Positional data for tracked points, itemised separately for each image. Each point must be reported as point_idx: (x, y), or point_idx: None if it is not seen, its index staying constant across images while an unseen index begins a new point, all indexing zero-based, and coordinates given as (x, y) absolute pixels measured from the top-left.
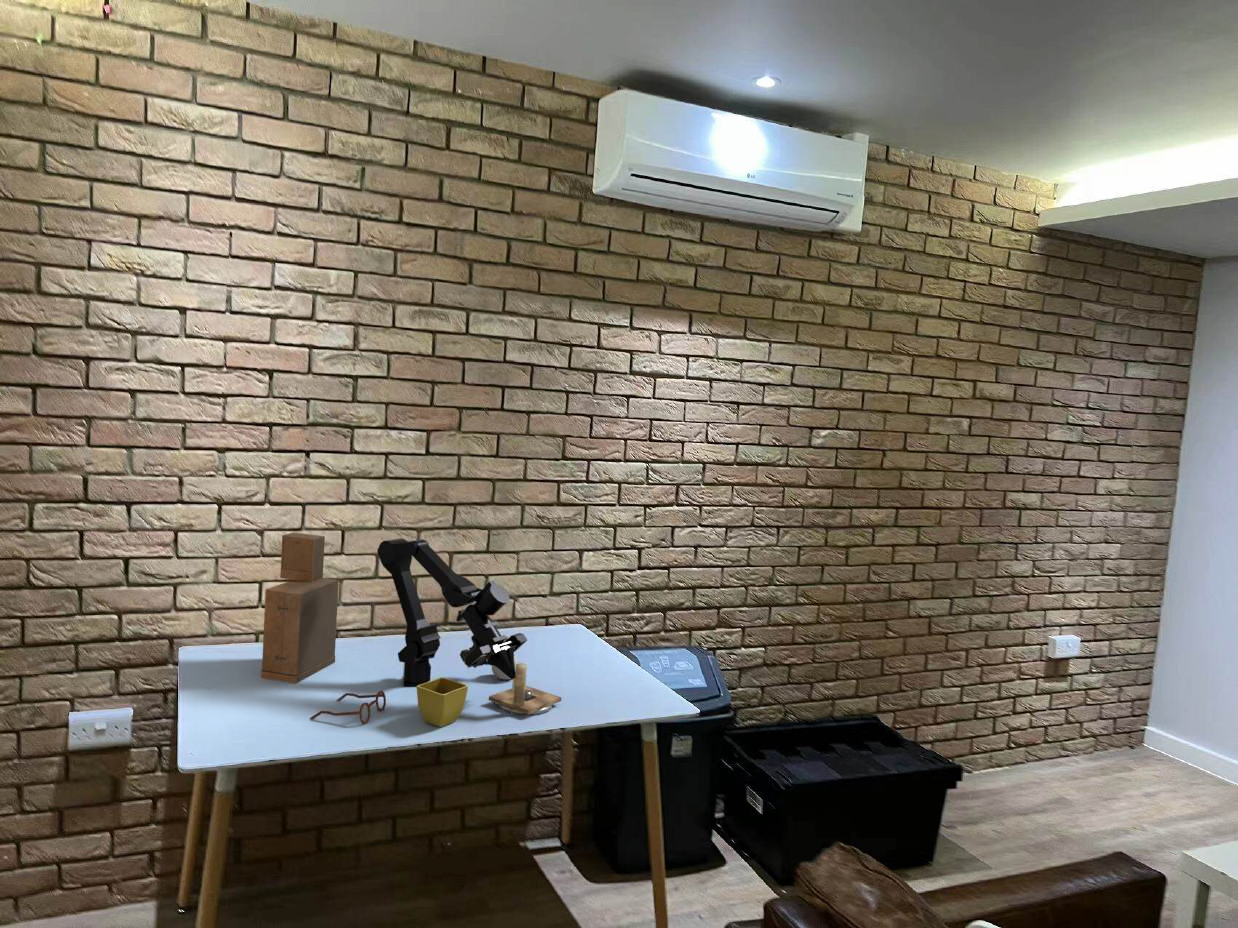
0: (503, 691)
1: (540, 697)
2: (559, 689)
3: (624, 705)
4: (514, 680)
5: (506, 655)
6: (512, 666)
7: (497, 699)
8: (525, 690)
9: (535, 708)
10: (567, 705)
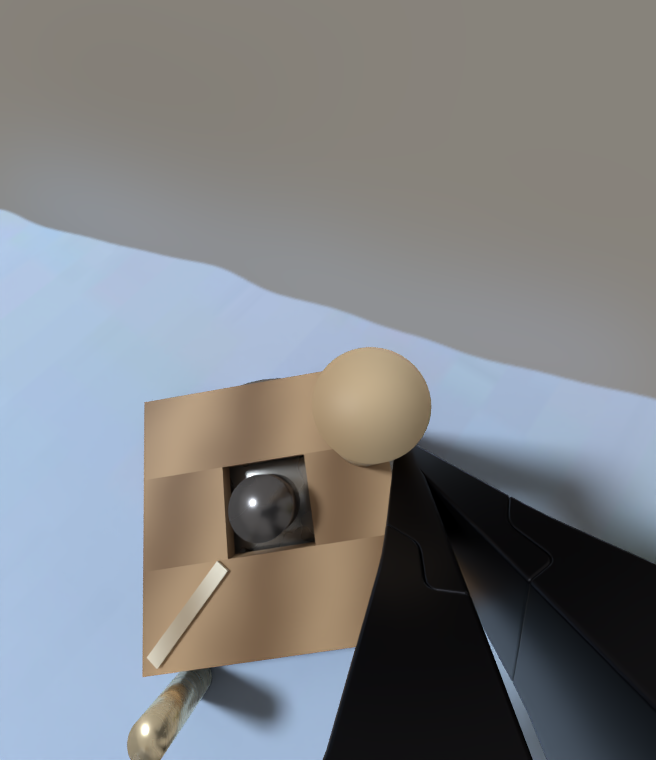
0: (306, 650)
1: (216, 455)
2: (15, 565)
3: (7, 289)
4: (173, 723)
5: (587, 591)
6: (427, 492)
7: None
8: (247, 524)
9: (321, 372)
10: (146, 396)
